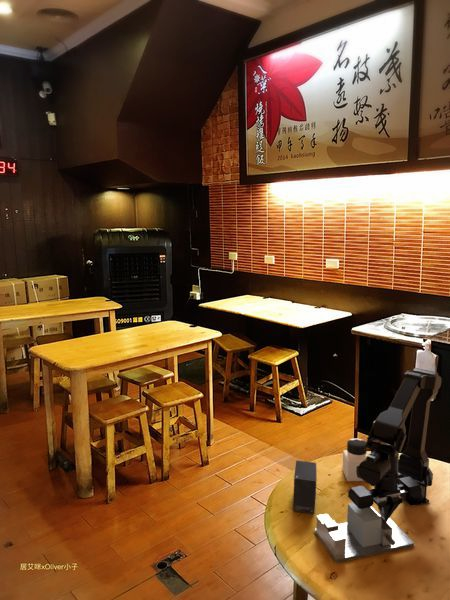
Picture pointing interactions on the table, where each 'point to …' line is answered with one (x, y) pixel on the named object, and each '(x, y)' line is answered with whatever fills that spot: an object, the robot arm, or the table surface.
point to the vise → (354, 540)
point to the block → (364, 525)
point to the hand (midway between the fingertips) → (384, 521)
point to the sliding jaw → (385, 533)
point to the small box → (304, 487)
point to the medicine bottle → (353, 458)
